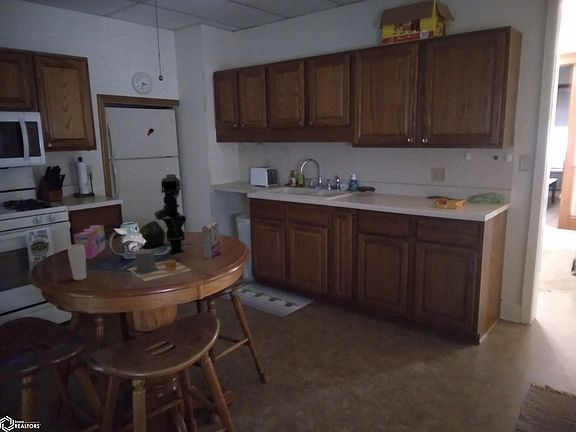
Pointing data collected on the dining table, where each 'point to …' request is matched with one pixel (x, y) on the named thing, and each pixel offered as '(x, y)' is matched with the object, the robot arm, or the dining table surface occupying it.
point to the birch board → (159, 271)
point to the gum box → (91, 240)
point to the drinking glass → (77, 261)
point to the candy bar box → (211, 240)
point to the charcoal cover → (145, 260)
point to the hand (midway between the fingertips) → (173, 233)
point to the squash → (153, 234)
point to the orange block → (170, 265)
